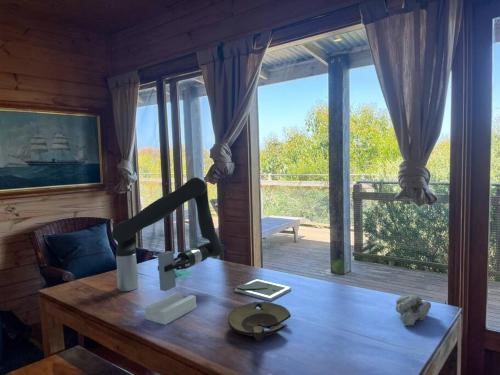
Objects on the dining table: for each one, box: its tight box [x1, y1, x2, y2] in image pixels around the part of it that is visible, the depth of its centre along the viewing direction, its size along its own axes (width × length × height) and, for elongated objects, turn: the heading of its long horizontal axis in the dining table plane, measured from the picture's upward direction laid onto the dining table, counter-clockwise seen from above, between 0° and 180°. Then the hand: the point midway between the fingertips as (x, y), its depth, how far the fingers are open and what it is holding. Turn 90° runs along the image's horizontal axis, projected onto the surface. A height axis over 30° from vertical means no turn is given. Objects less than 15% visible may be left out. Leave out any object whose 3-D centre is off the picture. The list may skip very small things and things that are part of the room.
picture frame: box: [234, 278, 292, 302], centre depth 169 cm, size 16×3×21 cm
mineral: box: [395, 294, 432, 327], centre depth 133 cm, size 12×17×10 cm
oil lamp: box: [227, 300, 292, 342], centre depth 129 cm, size 22×30×8 cm
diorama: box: [175, 269, 194, 281], centre depth 197 cm, size 12×20×9 cm, turn 140°
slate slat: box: [157, 250, 177, 292], centre depth 152 cm, size 3×6×15 cm, turn 148°
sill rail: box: [144, 291, 198, 326], centre depth 148 cm, size 11×18×5 cm, turn 147°
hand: (161, 269), depth 149 cm, fingers closed on slate slat, 3 cm apart
